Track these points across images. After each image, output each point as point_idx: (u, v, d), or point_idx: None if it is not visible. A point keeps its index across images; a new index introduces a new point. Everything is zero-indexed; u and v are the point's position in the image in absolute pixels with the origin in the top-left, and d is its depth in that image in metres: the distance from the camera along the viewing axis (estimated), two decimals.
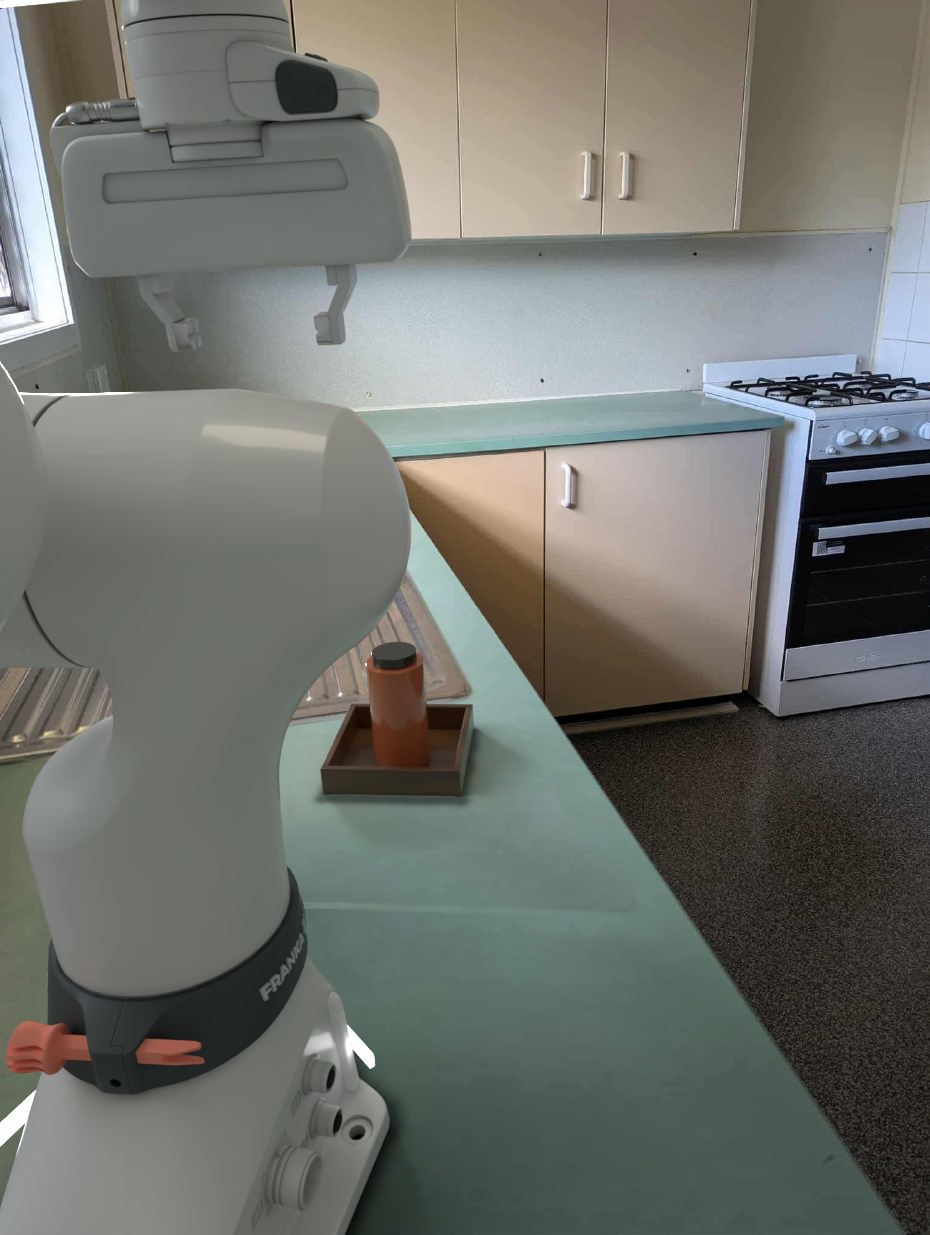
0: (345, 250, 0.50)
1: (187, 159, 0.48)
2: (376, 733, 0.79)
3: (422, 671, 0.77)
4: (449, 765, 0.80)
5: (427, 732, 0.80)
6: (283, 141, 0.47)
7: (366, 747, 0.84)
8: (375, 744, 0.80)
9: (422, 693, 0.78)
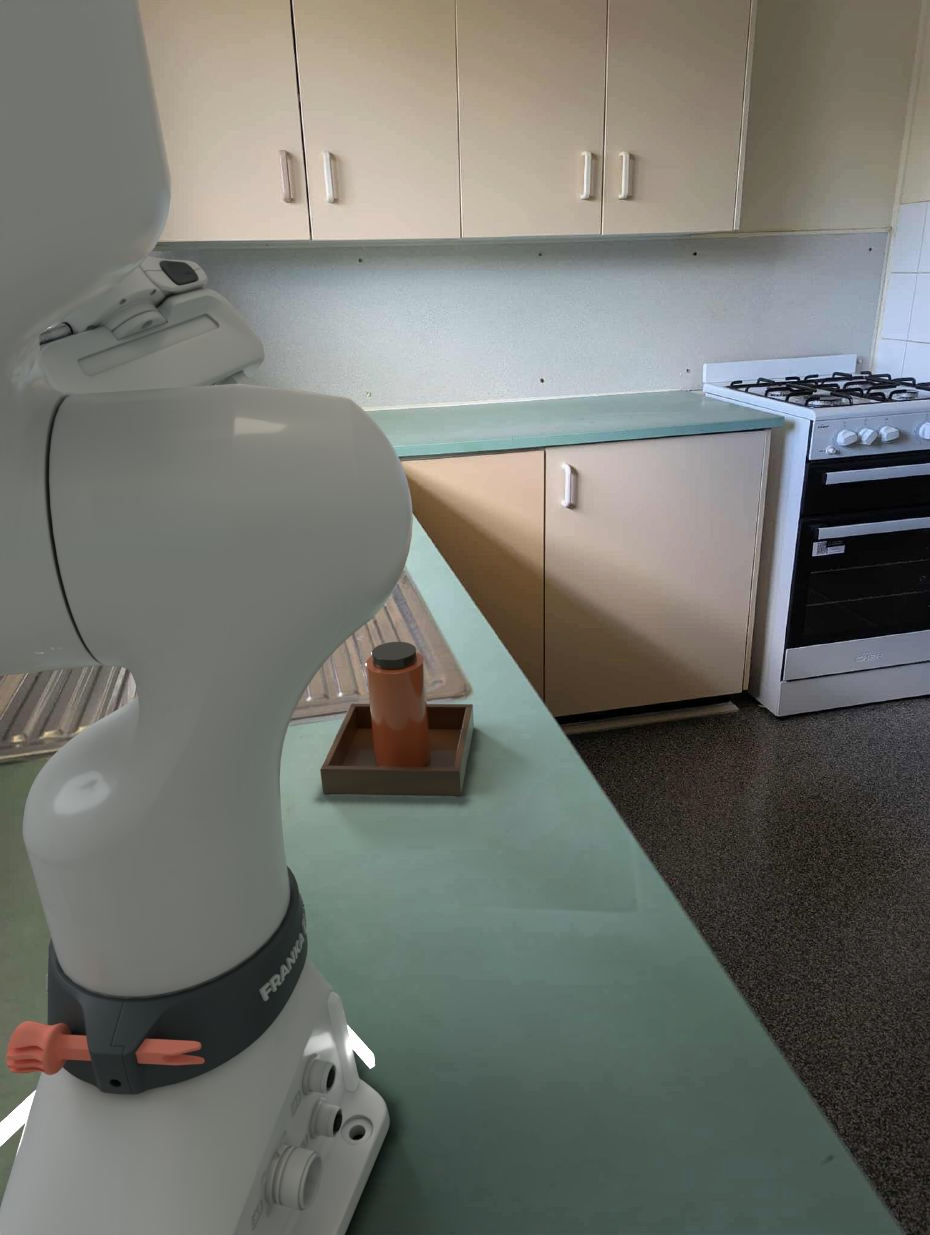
0: (241, 357, 0.74)
1: (134, 326, 0.67)
2: (376, 733, 0.79)
3: (422, 671, 0.77)
4: (449, 765, 0.80)
5: (427, 732, 0.80)
6: (180, 303, 0.71)
7: (366, 747, 0.84)
8: (375, 744, 0.80)
9: (422, 693, 0.78)
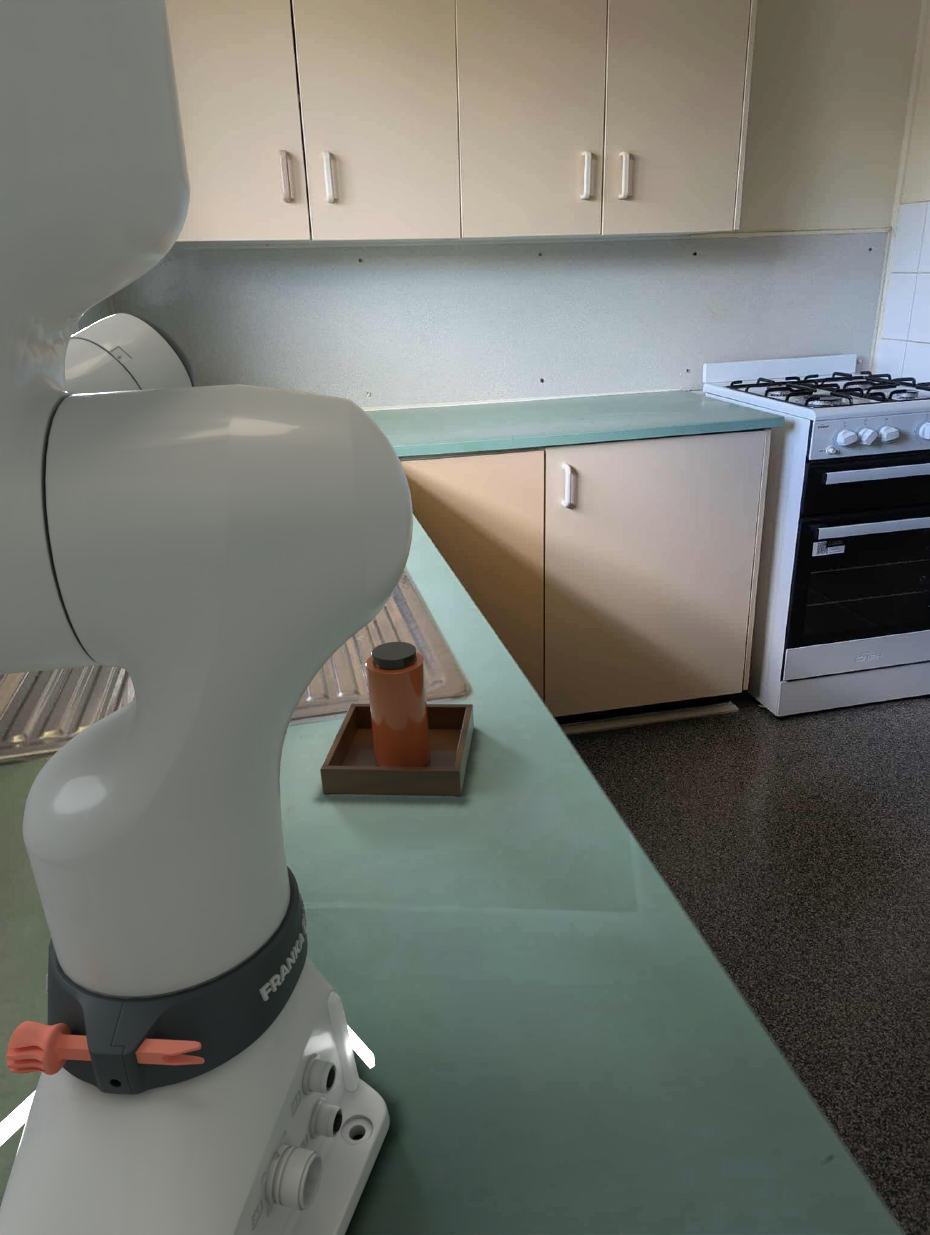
0: None
1: None
2: (376, 733, 0.79)
3: (422, 671, 0.77)
4: (449, 765, 0.80)
5: (427, 732, 0.80)
6: None
7: (366, 747, 0.84)
8: (375, 744, 0.80)
9: (422, 693, 0.78)
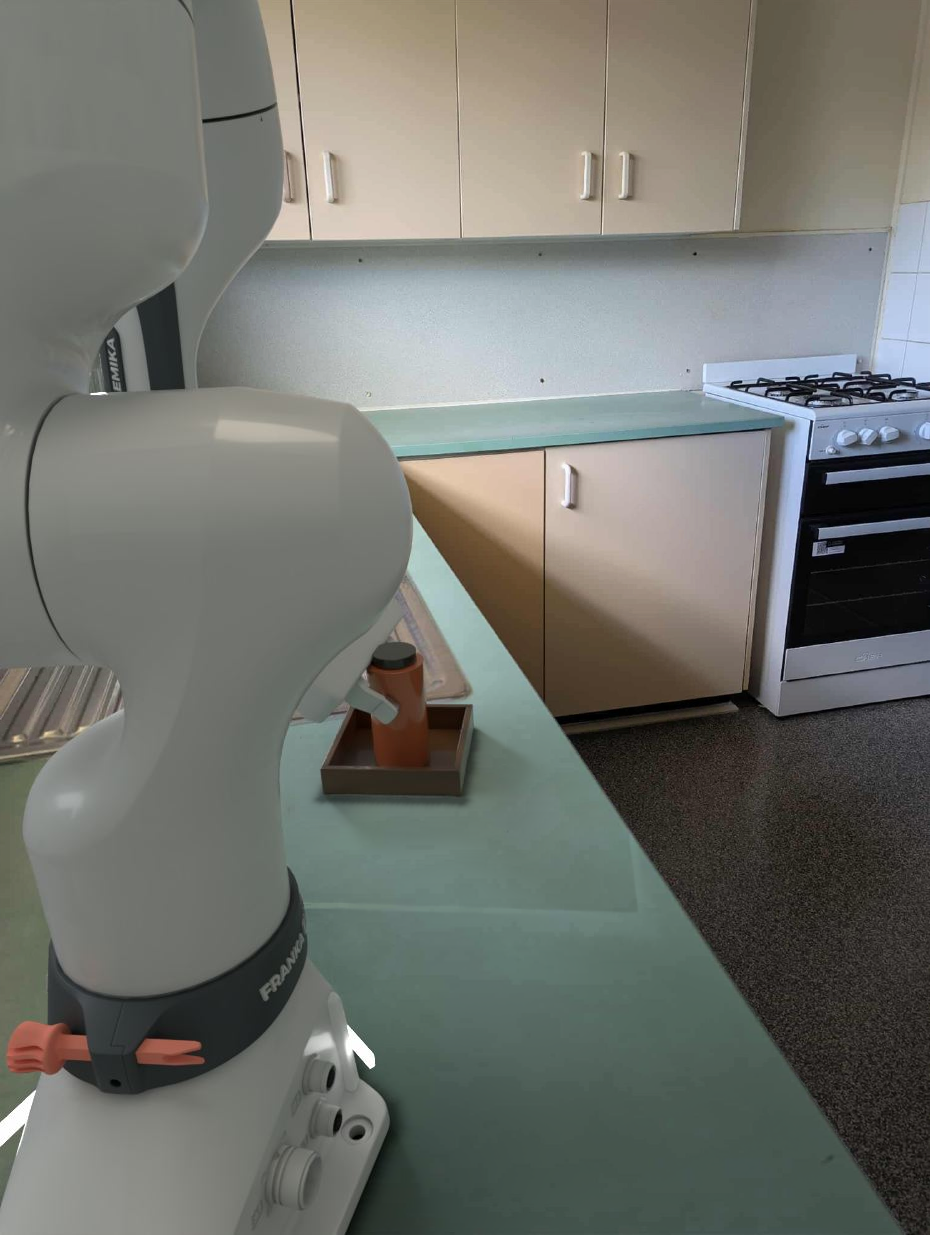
0: (393, 618, 0.84)
1: None
2: (376, 733, 0.79)
3: (422, 671, 0.77)
4: (449, 765, 0.80)
5: (427, 732, 0.80)
6: None
7: (366, 747, 0.84)
8: (375, 744, 0.80)
9: (421, 693, 0.78)
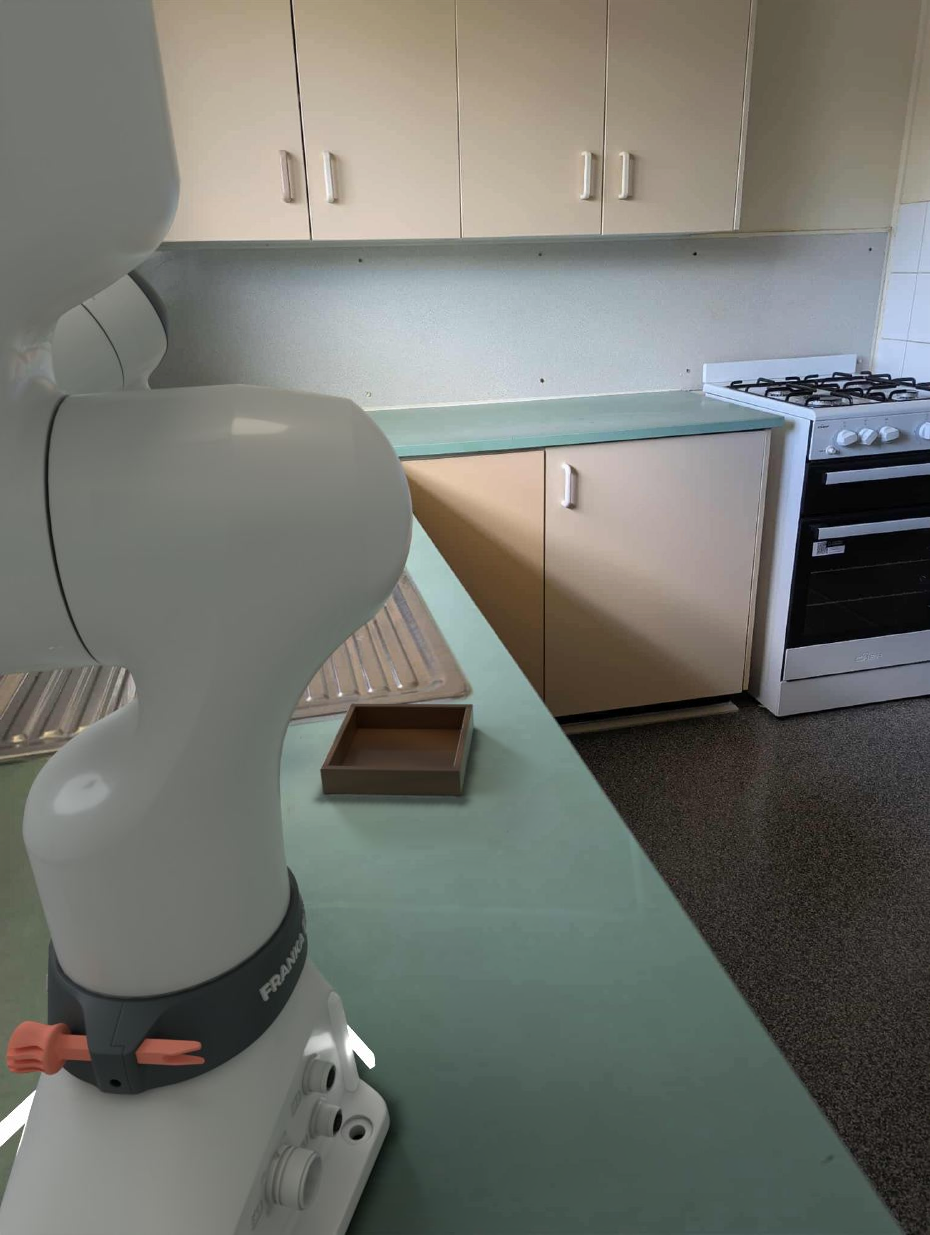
0: None
1: None
2: None
3: None
4: (449, 765, 0.80)
5: None
6: None
7: (366, 747, 0.84)
8: None
9: None
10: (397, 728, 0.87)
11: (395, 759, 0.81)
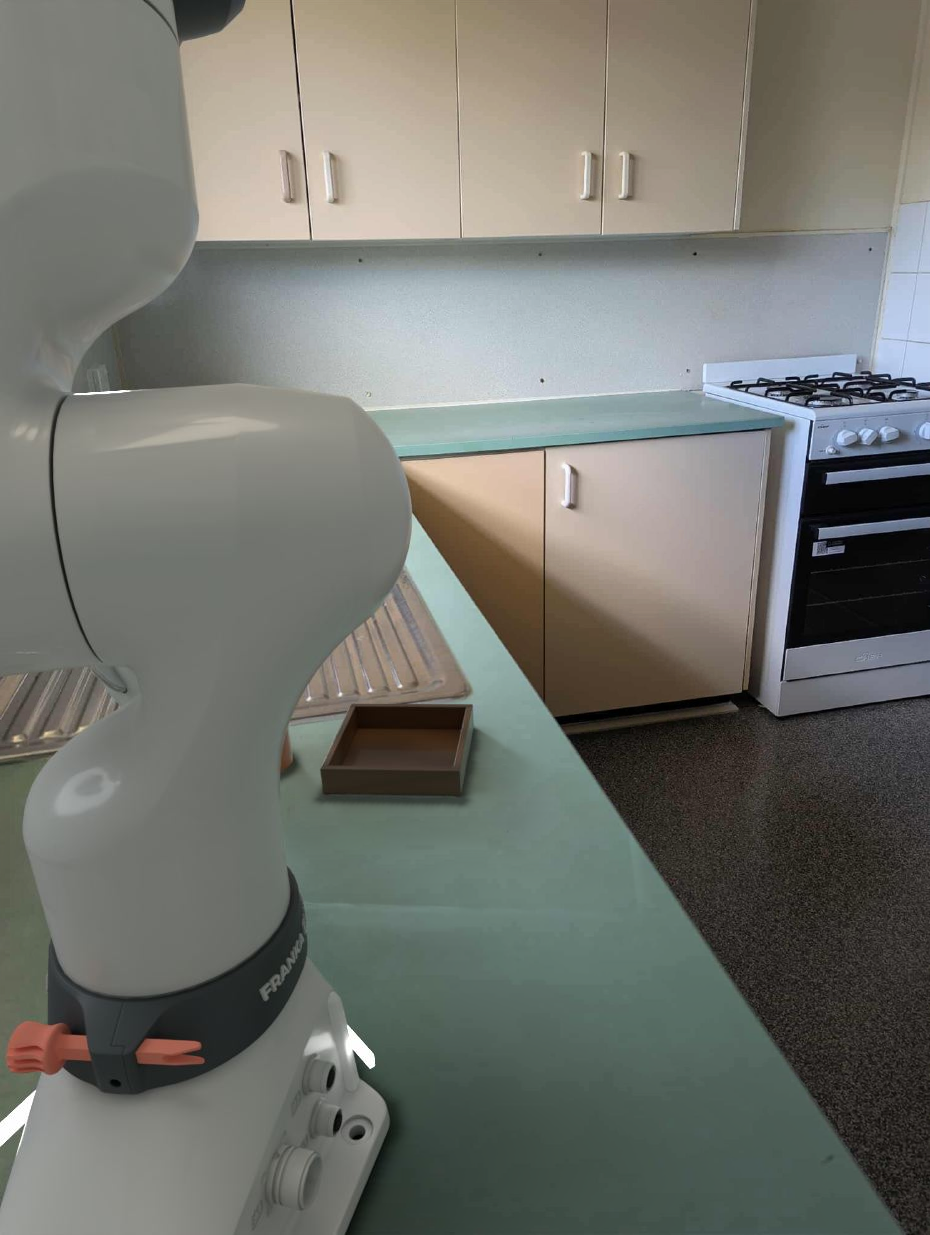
0: None
1: None
2: None
3: None
4: (449, 765, 0.80)
5: (287, 742, 0.81)
6: None
7: (366, 747, 0.84)
8: None
9: None
10: (397, 728, 0.87)
11: (395, 759, 0.81)
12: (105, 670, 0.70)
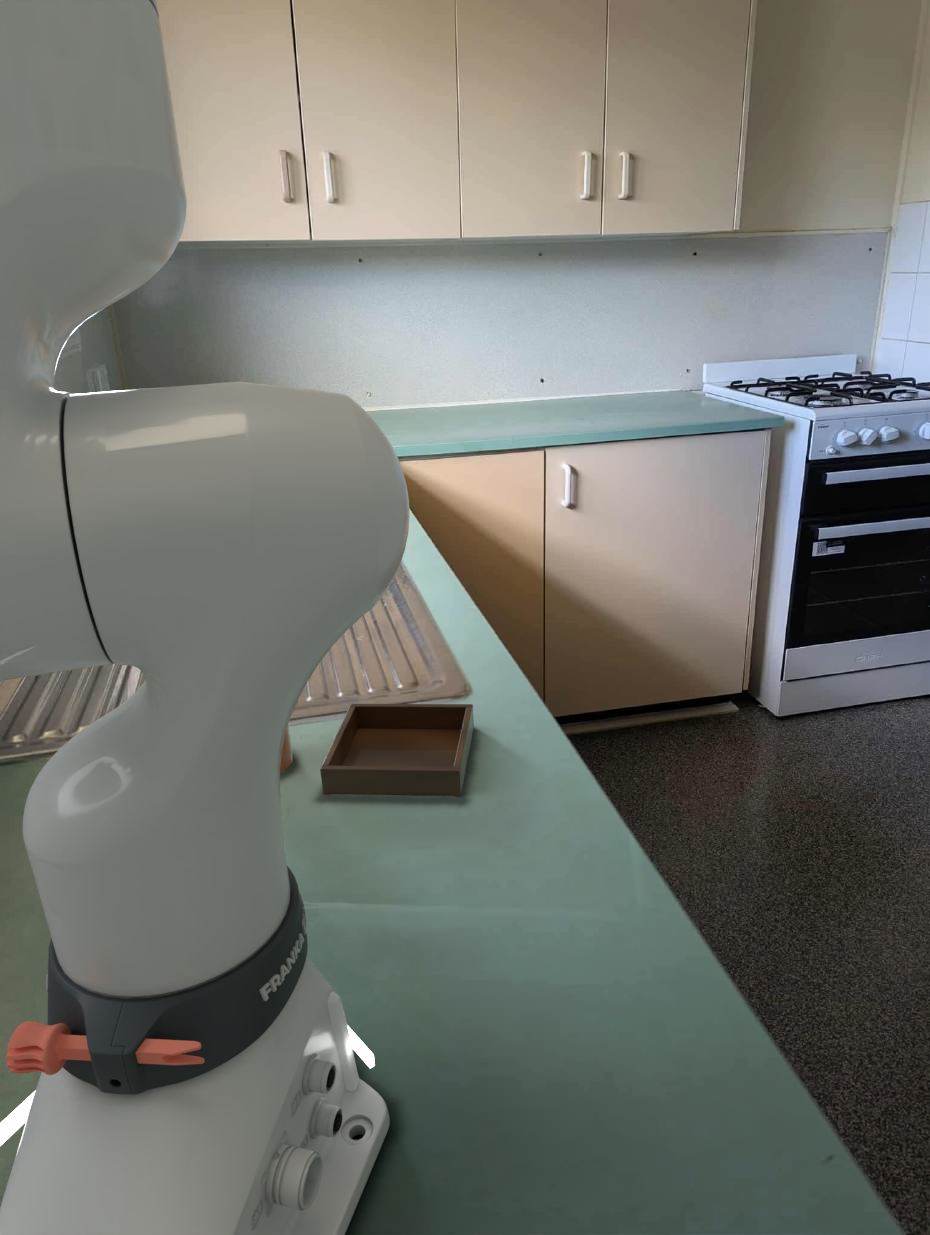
0: None
1: None
2: None
3: None
4: (449, 765, 0.80)
5: (287, 742, 0.81)
6: None
7: (366, 747, 0.84)
8: None
9: None
10: (397, 728, 0.87)
11: (395, 759, 0.81)
12: None
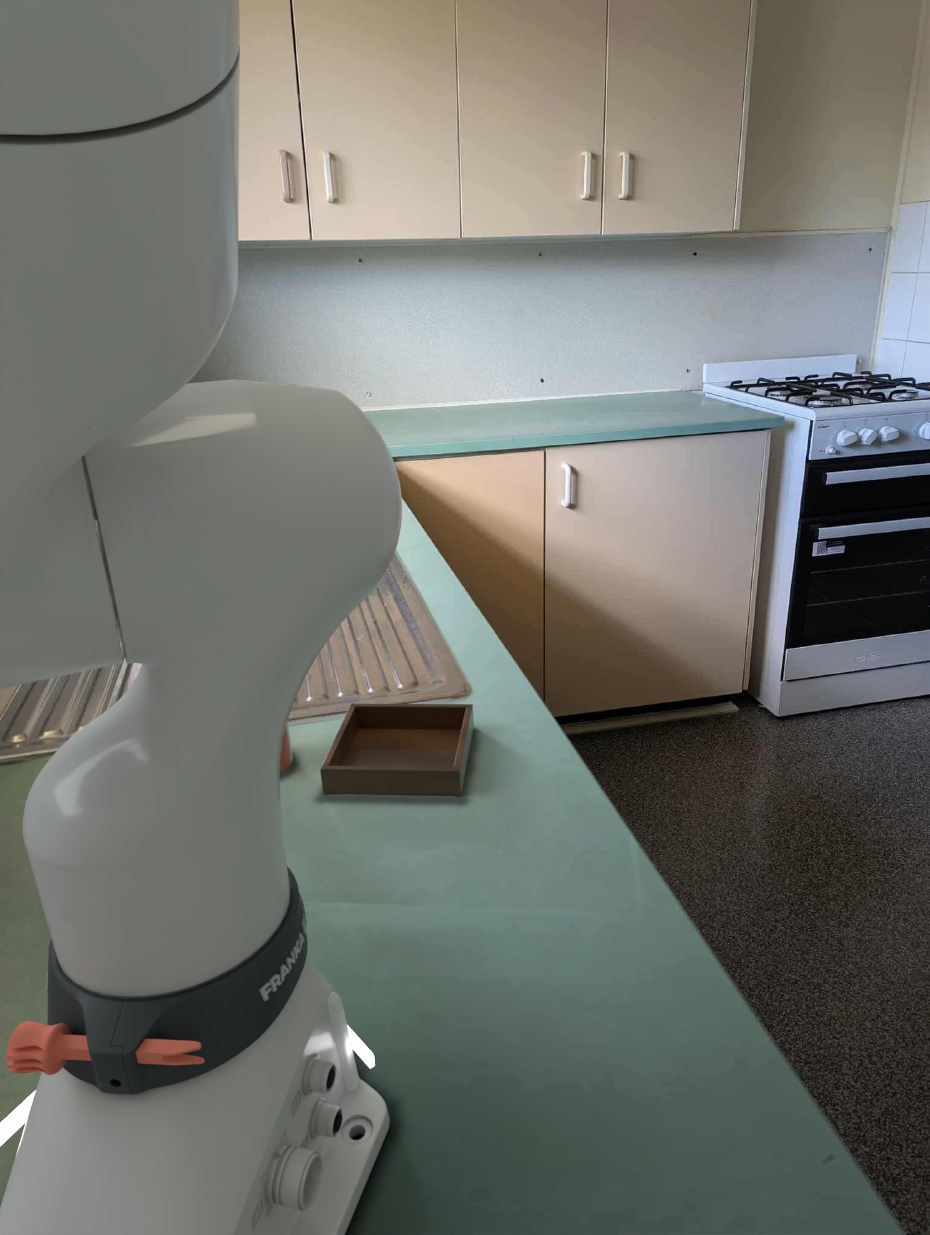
0: None
1: None
2: None
3: None
4: (449, 765, 0.80)
5: (287, 742, 0.81)
6: None
7: (366, 747, 0.84)
8: None
9: None
10: (397, 728, 0.87)
11: (395, 759, 0.81)
12: None
